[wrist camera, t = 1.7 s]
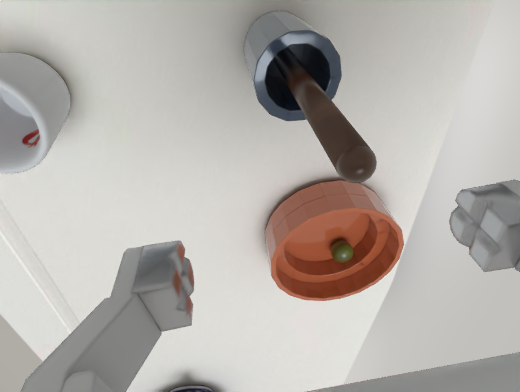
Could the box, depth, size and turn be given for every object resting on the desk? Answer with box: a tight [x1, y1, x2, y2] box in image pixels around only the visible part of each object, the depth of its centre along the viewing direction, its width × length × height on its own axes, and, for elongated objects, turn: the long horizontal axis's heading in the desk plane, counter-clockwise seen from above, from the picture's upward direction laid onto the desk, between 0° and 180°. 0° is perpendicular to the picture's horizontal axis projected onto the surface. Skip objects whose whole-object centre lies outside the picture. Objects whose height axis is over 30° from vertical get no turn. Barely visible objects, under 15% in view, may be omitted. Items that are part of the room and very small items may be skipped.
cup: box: [0, 53, 71, 174], centre depth 26 cm, size 11×8×8 cm
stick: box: [273, 47, 377, 183], centre depth 20 cm, size 2×2×20 cm
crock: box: [244, 11, 342, 121], centre depth 25 cm, size 6×6×9 cm
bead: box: [331, 240, 353, 263], centre depth 43 cm, size 3×3×3 cm
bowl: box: [265, 180, 404, 301], centre depth 41 cm, size 16×16×6 cm
